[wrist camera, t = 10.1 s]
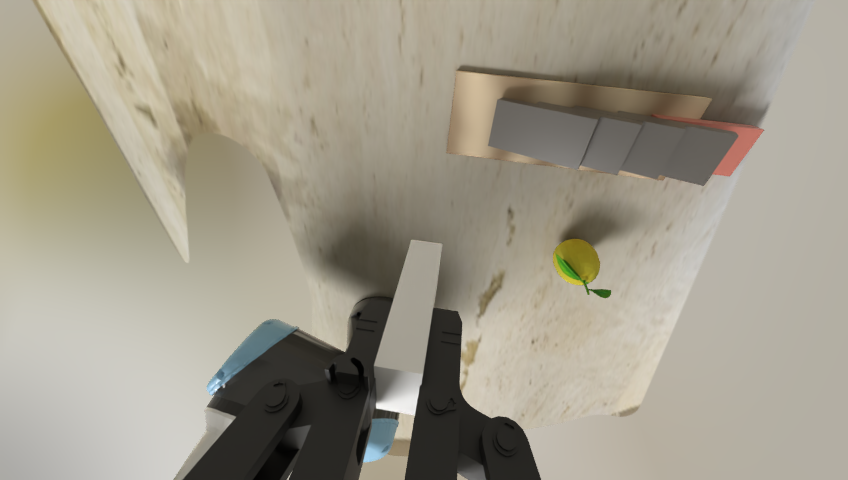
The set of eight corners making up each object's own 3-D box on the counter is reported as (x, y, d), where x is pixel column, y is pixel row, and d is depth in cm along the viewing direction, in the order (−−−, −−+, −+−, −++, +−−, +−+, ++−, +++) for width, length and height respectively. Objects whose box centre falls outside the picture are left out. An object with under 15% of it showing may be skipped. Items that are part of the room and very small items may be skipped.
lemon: (594, 257, 44) (620, 309, 36) (552, 265, 46) (568, 316, 38) (590, 220, 41) (617, 269, 33) (545, 230, 43) (560, 279, 35)
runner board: (446, 150, 38) (446, 153, 38) (456, 70, 33) (456, 71, 32) (660, 177, 36) (663, 180, 36) (707, 97, 31) (712, 98, 30)
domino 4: (597, 159, 34) (703, 185, 30) (617, 113, 31) (739, 135, 27) (598, 155, 35) (701, 180, 31) (618, 110, 32) (734, 131, 28)
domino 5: (635, 164, 34) (729, 176, 33) (659, 117, 31) (764, 129, 30) (629, 159, 35) (720, 170, 34) (652, 114, 32) (752, 125, 31)
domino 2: (522, 150, 35) (617, 175, 31) (535, 103, 32) (642, 124, 28) (526, 146, 36) (618, 170, 32) (539, 101, 33) (642, 121, 29)
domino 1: (487, 145, 35) (577, 170, 31) (497, 99, 32) (598, 119, 28) (493, 142, 36) (580, 165, 32) (502, 97, 33) (600, 116, 29)
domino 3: (556, 154, 34) (657, 179, 31) (573, 108, 31) (686, 129, 28) (559, 150, 35) (656, 174, 32) (575, 105, 32) (684, 125, 29)
